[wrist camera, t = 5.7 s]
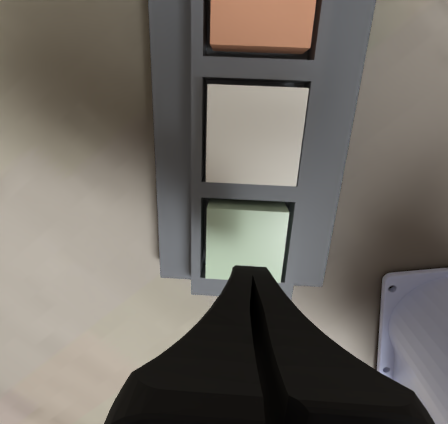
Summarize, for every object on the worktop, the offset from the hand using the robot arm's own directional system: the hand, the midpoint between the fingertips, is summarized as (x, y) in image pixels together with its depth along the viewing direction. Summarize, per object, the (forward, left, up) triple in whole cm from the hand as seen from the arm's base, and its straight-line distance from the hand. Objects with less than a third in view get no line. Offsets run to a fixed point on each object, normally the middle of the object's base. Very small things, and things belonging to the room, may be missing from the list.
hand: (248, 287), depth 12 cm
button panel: (+5, -1, -7) cm, 9 cm away
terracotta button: (+11, -2, -5) cm, 12 cm away
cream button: (+5, -1, -4) cm, 7 cm away
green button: (0, 0, -5) cm, 5 cm away
